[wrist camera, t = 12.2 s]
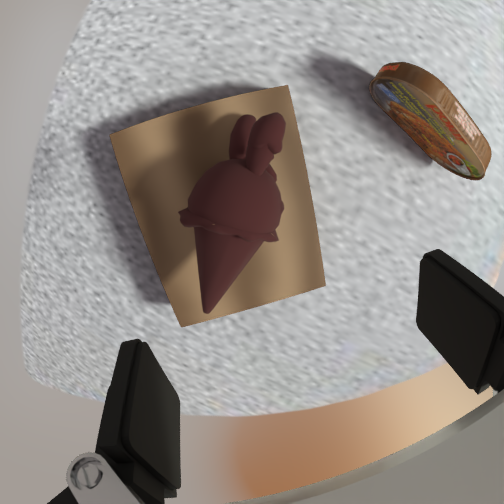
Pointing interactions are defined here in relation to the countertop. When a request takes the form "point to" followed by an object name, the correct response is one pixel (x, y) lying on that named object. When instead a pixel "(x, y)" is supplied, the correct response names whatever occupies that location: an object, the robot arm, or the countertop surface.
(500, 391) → the robot arm
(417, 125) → the tin
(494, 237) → the countertop surface
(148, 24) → the countertop surface
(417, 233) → the countertop surface
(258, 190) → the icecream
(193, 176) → the base
